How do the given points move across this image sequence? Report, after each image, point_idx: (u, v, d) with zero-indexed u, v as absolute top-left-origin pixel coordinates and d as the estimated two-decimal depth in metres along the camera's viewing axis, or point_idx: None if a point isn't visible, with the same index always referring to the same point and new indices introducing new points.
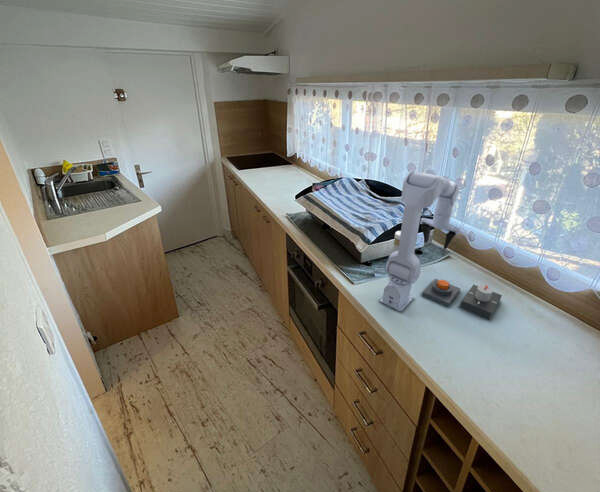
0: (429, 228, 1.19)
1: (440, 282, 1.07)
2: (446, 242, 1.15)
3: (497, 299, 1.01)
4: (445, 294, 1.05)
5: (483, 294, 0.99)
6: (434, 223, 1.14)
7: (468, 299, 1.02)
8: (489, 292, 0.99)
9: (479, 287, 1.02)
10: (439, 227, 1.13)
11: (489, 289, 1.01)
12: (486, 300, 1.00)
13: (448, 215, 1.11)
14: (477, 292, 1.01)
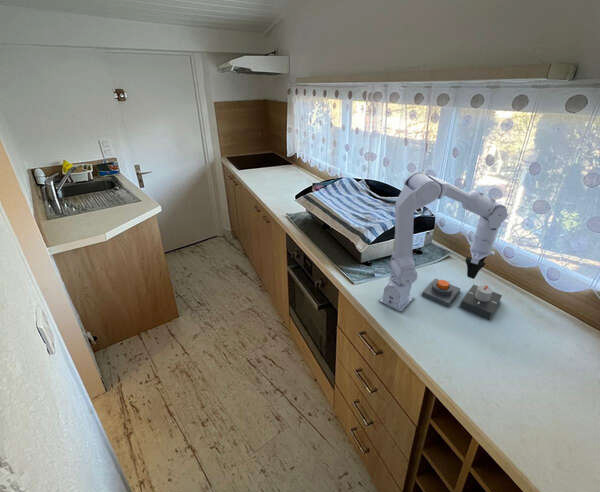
0: None
1: (440, 282, 1.07)
2: None
3: (497, 299, 1.01)
4: (445, 294, 1.05)
5: (483, 294, 0.99)
6: None
7: (468, 299, 1.02)
8: (489, 292, 0.99)
9: (479, 287, 1.02)
10: (470, 248, 1.01)
11: (489, 289, 1.01)
12: (486, 300, 1.00)
13: (478, 238, 0.96)
14: (477, 292, 1.01)
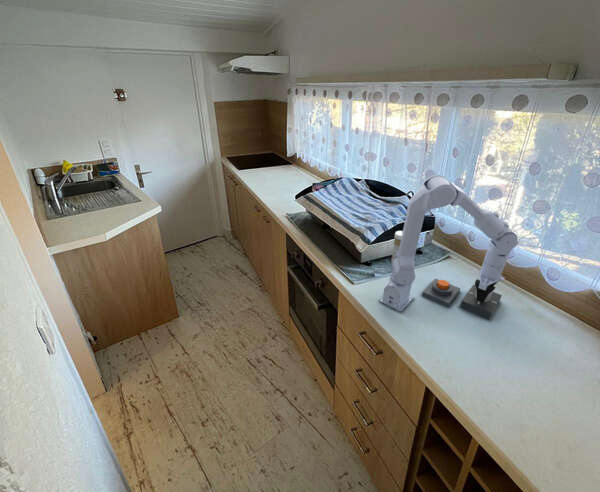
0: None
1: (440, 282, 1.07)
2: None
3: (497, 299, 1.01)
4: (445, 294, 1.05)
5: None
6: None
7: (468, 299, 1.02)
8: None
9: None
10: (479, 272, 0.99)
11: None
12: (486, 300, 1.00)
13: (487, 263, 0.95)
14: None
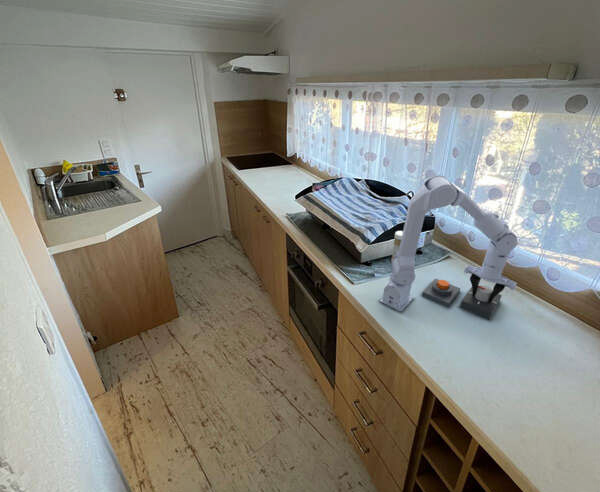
0: (479, 279, 1.01)
1: (440, 282, 1.07)
2: (492, 295, 0.98)
3: (497, 299, 1.01)
4: (445, 294, 1.05)
5: None
6: (483, 274, 0.97)
7: (468, 299, 1.02)
8: (488, 288, 1.01)
9: (483, 291, 0.99)
10: (490, 280, 0.96)
11: (483, 286, 1.02)
12: None
13: (502, 267, 0.93)
14: (487, 296, 0.99)
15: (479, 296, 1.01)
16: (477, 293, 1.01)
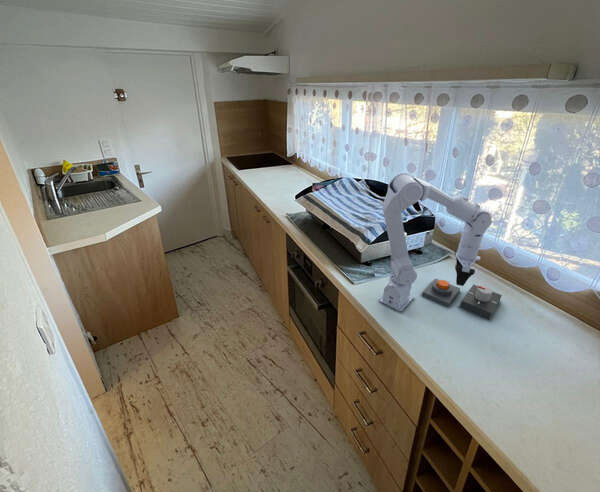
0: None
1: (440, 282, 1.07)
2: None
3: (497, 299, 1.01)
4: (445, 294, 1.05)
5: (491, 293, 1.00)
6: None
7: (468, 299, 1.02)
8: (488, 288, 1.01)
9: (483, 291, 0.99)
10: (456, 255, 0.99)
11: (483, 286, 1.02)
12: None
13: (465, 245, 0.95)
14: (487, 296, 0.99)
15: (479, 296, 1.01)
16: (477, 293, 1.01)
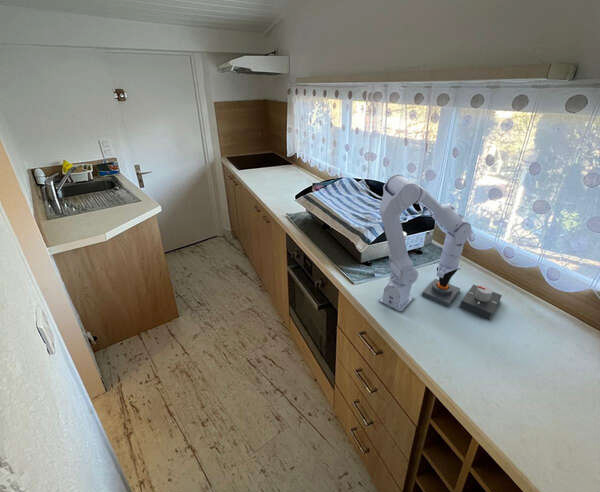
0: None
1: (439, 284, 1.07)
2: None
3: (497, 299, 1.01)
4: (445, 294, 1.05)
5: (491, 293, 1.00)
6: None
7: (468, 299, 1.02)
8: (488, 288, 1.01)
9: (483, 291, 0.99)
10: (439, 261, 1.04)
11: (483, 286, 1.02)
12: None
13: (444, 253, 1.00)
14: (487, 296, 0.99)
15: (479, 296, 1.01)
16: (477, 293, 1.01)
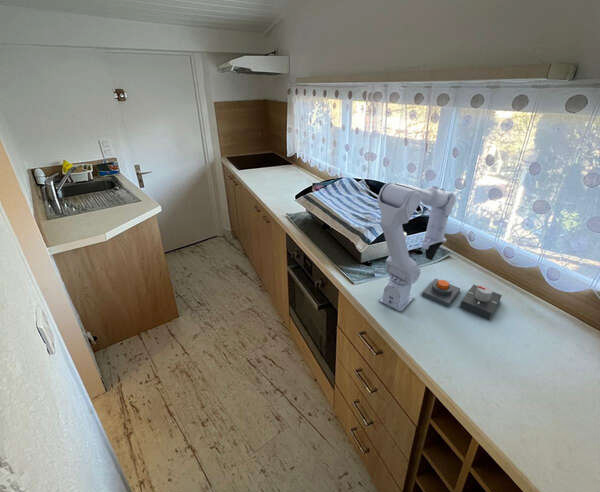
0: None
1: (440, 282, 1.07)
2: None
3: (497, 299, 1.01)
4: (445, 294, 1.05)
5: (491, 293, 1.00)
6: None
7: (468, 299, 1.02)
8: (488, 288, 1.01)
9: (483, 291, 0.99)
10: (425, 235, 1.07)
11: (483, 286, 1.02)
12: None
13: (430, 225, 1.03)
14: (487, 296, 0.99)
15: (479, 296, 1.01)
16: (477, 293, 1.01)
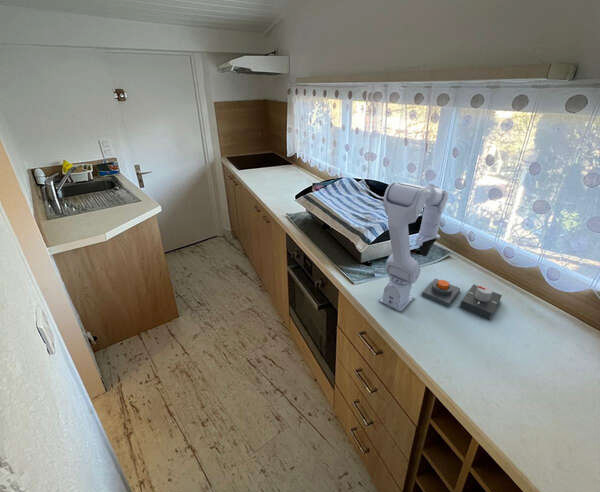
0: None
1: (440, 282, 1.07)
2: None
3: (497, 299, 1.01)
4: (445, 294, 1.05)
5: (491, 293, 1.00)
6: None
7: (468, 299, 1.02)
8: (488, 288, 1.01)
9: (483, 291, 0.99)
10: (419, 231, 1.10)
11: (483, 286, 1.02)
12: None
13: (424, 222, 1.05)
14: (487, 296, 0.99)
15: (479, 296, 1.01)
16: (477, 293, 1.01)
